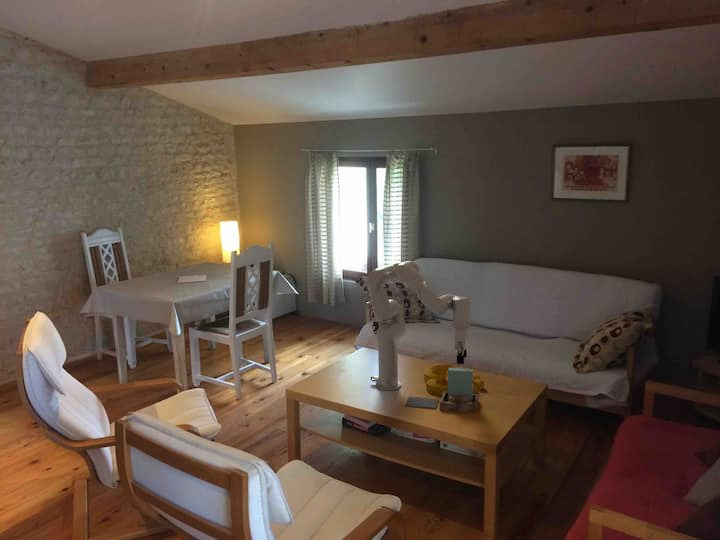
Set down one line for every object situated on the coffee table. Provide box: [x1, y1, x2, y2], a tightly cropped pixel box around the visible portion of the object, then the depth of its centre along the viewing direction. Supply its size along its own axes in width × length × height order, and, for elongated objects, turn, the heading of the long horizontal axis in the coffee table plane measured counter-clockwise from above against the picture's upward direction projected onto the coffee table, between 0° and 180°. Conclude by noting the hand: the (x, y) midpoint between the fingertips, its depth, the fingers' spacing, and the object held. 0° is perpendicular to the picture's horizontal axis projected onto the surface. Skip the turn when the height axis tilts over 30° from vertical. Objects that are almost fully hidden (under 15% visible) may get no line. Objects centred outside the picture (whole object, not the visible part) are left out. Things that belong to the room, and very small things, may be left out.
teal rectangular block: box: [447, 367, 474, 403], centre depth 280 cm, size 11×3×16 cm, turn 74°
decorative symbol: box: [423, 364, 485, 396], centre depth 304 cm, size 30×5×30 cm
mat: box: [404, 395, 440, 410], centre depth 282 cm, size 14×10×1 cm
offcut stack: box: [447, 395, 474, 404], centre depth 276 cm, size 11×4×5 cm, turn 74°
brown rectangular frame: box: [439, 391, 479, 414], centre depth 278 cm, size 16×13×4 cm
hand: (461, 360), depth 278 cm, fingers open, 9 cm apart
